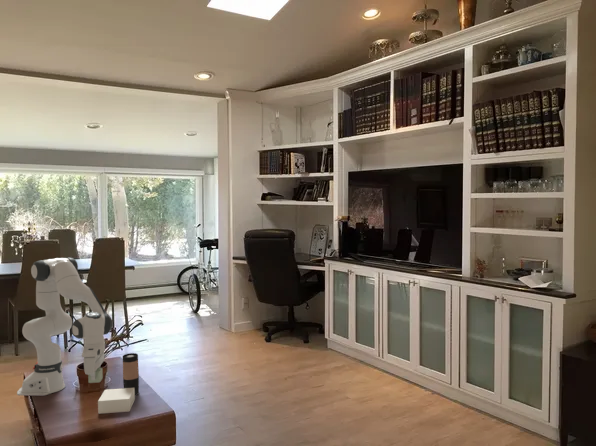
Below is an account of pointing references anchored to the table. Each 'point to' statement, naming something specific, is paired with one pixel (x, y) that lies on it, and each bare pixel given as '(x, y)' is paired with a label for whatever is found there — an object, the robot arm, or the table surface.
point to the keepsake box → (116, 400)
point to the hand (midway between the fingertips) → (95, 377)
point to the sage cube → (98, 376)
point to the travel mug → (131, 371)
